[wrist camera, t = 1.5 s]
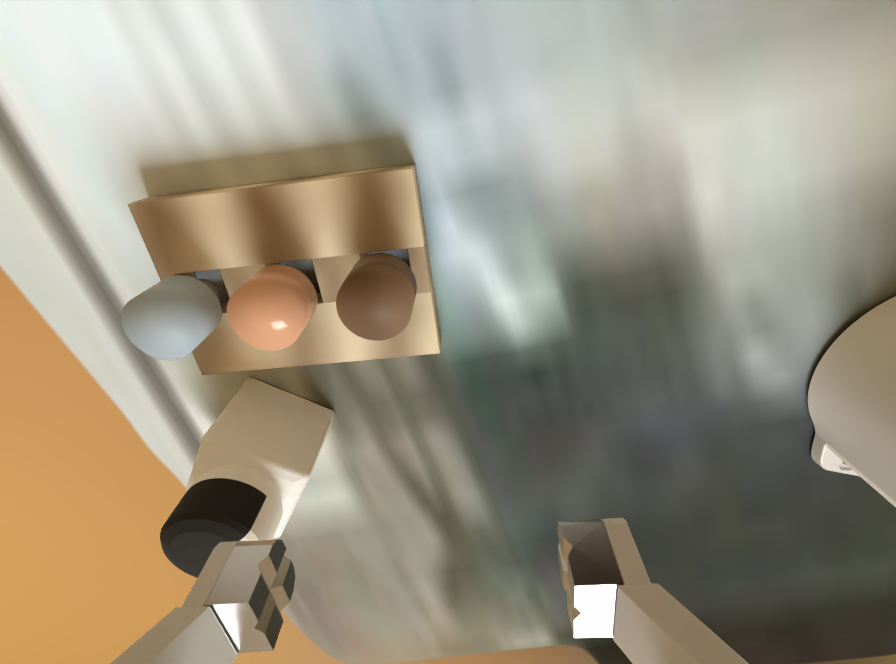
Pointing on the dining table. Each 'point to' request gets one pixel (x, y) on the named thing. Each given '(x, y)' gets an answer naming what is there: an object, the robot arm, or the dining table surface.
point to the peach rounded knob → (272, 307)
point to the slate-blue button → (172, 316)
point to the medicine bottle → (246, 473)
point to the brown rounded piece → (377, 297)
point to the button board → (296, 256)
